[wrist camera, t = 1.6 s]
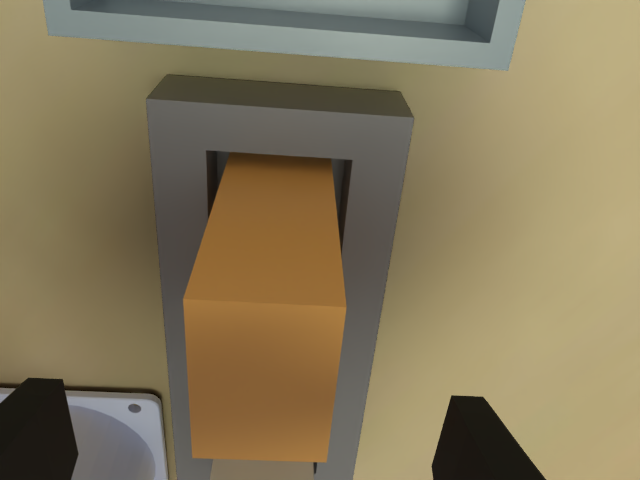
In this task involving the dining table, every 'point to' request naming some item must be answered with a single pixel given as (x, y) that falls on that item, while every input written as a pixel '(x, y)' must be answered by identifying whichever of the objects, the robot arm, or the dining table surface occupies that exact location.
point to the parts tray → (307, 27)
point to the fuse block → (351, 204)
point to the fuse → (261, 470)
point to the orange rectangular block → (266, 313)
